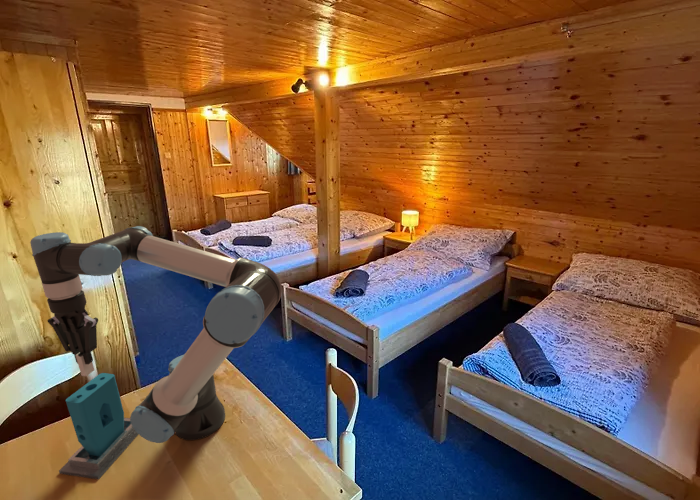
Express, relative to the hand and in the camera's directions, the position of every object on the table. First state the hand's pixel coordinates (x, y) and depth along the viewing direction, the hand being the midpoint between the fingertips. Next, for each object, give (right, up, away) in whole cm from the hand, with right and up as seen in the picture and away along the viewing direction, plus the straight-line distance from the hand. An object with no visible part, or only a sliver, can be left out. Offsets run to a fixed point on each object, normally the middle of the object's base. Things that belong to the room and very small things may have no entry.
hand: (88, 372), depth 101 cm
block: (0, -24, +8) cm, 25 cm away
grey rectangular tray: (0, -24, +8) cm, 26 cm away
